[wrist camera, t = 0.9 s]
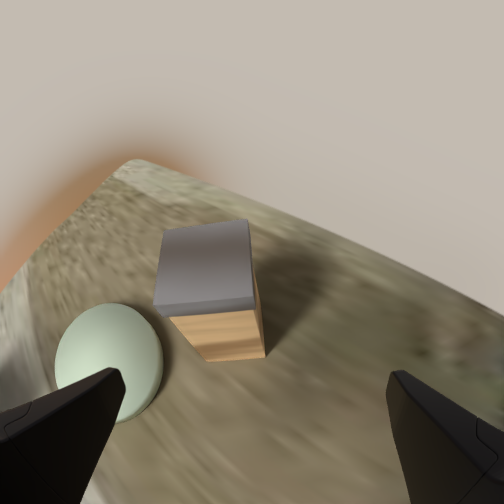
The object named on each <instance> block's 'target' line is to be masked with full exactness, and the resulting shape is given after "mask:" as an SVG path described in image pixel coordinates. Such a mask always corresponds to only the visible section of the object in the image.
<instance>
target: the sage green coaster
mask: <svg viewBox="0 0 504 504" xmlns="http://www.w3.org/2000/svg"><path fill="white" fill-rule="evenodd" d="M107 367H112V368H117V369H119V370H120V372H121V374H122V377H123V380H124V383H125V385H126V393H125V396H124V399H123V402H122V405H121V408H120V411H119V414H118V417H117V420H116V422H115V424H118V423H122V422H125V421H128V420H130V419H132V418H134V417H136V416H137V415H138V414H140V413H141V412H142V411H143V410H144V409H145V408H146V407H147V406H148V405H149V404H150V402H151V401H152V400H153V398H154V396H155V395H156V393H157V391H158V388H159V386H160V383H161V379H162V375H163V368H164V358H163V350H162V346H161V342H160V340H159V337H158V335H157V333H156V332H155V330H154V329H153V327H152V326H151V325H150V324H149V323H148V322H147V321H146V320H145V318H144V317H143V316H142V315H141V314H140V313H138V312H137V311H136V310H134V309H132V308H130V307H128V306H126V305H123V304H117V303H107V304H101V305H98V306H95V307H92V308H90V309H88V310H86V311H85V312H83V313H82V314H81V315H79V316H78V317H77V318H76V319H75V320H74V321H73V322H72V323H71V324H70V326H69V327H68V328H67V330H66V331H65V333H64V335H63V337H62V339H61V341H60V343H59V346H58V349H57V353H56V359H55V377H56V382H57V386H58V389H61V388H63V387H66V386H68V385H70V384H72V383H74V382H77V381H79V380H81V379H83V378H86V377H88V376H90V375H92V374H94V373H96V372H99V371H101V370H103V369H105V368H107Z"/></svg>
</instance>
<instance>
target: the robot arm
mask: <svg viewBox="0 0 504 504" xmlns="http://www.w3.org/2000/svg"><path fill="white" fill-rule="evenodd" d="M125 393H126V385H125V383H124V380H123V377H122V374H121V372H120V370H119V369H117V368H112V367H107V368H105V369H103V370H101V371H99V372H96V373H94V374H92V375H90V376H88V377H86V378H83V379H81V380H79V381H77V382H74V383H72V384H70V385H68V386H66V387H63V388H61V389H59V390H56V391H54V392H52V393H50V394H47V395H45V396H43V397H40V398H38V399H36V400H33V402H32V401H31V402H28V403H26V404H24V405H21V406H18V407H16V408H13V409H10V410H7V411H4V412H1V413H0V504H80V502H81V500H82V498H83V495H84V493H85V490H86V488H87V486H88V483H89V481H90V479H91V476H92V474H93V472H94V469H95V467H96V465H97V463H98V460H99V458H100V456H101V454H102V451H103V449H104V447H105V445H106V443H107V440H108V438H109V436H110V434H111V432H112V430H113V427H114V425H115V422H116V420H117V417H118V414H119V411H120V408H121V405H122V402H123V399H124V396H125ZM386 400H387V405H388V411H389V416H390V422H391V428H392V433H393V438H394V441H395V445H396V448H397V452H398V455H399V459H400V462H401V466H402V470H403V473H404V477H405V481H406V485H407V489H408V493H409V497H410V502H411V504H504V432H503V431H501V430H499V429H497V428H495V427H494V426H492V425H490V424H488V423H487V422H485V421H483V420H482V419H480V418H477V416H475V415H474V414H472V413H470V412H469V411H467V410H466V409H464V408H463V407H461V406H459V405H458V404H456V403H455V402H453V401H451V400H450V399H448V398H447V397H445V396H444V395H442V394H440V393H439V392H437V391H436V390H434V389H433V388H431V387H429V386H428V385H426V384H425V383H423V382H422V381H420V380H418V379H417V378H415V377H414V376H412V375H411V374H409V373H408V372H406V371H404V370H397V371H392V372H391V374H390V376H389V381H388V385H387V389H386Z"/></svg>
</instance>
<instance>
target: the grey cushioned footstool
mask: <svg viewBox="0 0 504 504" xmlns="http://www.w3.org/2000/svg"><path fill="white" fill-rule="evenodd" d="M153 306H154V308H155V309H156V310H157V311H158V312H159V314H160V315H161V316H162V317H163V318H164V317H169V318H170V319H171V321H172V322H173V323H174V324H175V325H176V327H177V328H178V329H179V330H180V331H181V333H182V334H183V335H184V336H185V337H186V338H187V340H188V341H189V342H190V343H191V344H192V345H193V347H194V348H195V349H196V350H197V351H198V352H199V353H200V354H201V356H202V357H203V358H204V359H205V360H206V361H207V362H213V361H228V360H241V359H253V358H263V357H265V346H264V334H263V323H262V311H261V303H260V298H259V293H258V288H257V283H256V278H255V273H254V268H253V263H252V250H251V237H250V230H249V225H248V220H247V219H241V220H234V221H226V222H219V223H212V224H204V225H197V226H190V227H184V228H177V229H170V230H164V233H163V239H162V245H161V251H160V257H159V263H158V270H157V277H156V284H155V292H154V300H153Z"/></svg>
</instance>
